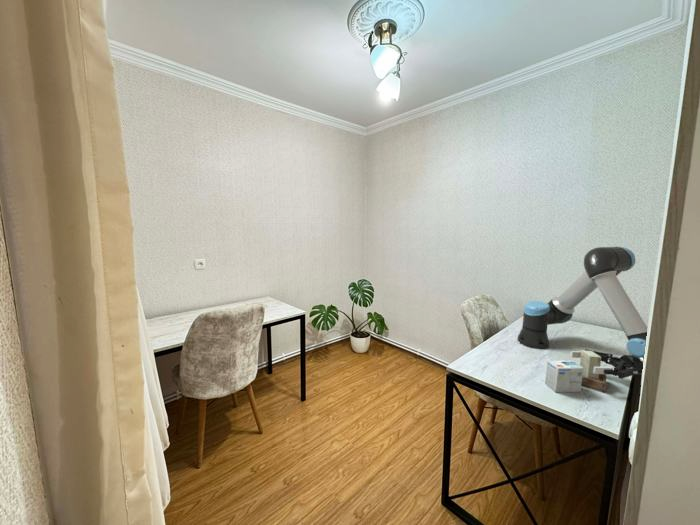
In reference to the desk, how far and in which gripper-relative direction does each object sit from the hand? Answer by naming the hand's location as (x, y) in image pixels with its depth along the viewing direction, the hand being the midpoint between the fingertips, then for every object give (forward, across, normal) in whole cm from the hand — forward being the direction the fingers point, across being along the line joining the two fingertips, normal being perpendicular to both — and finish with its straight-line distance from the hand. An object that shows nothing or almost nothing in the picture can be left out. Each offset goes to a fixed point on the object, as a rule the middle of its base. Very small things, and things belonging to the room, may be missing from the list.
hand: (582, 361), depth 121 cm
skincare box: (-3, 0, -9) cm, 9 cm away
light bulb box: (+10, -6, -10) cm, 15 cm away
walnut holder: (-3, 0, -9) cm, 10 cm away
